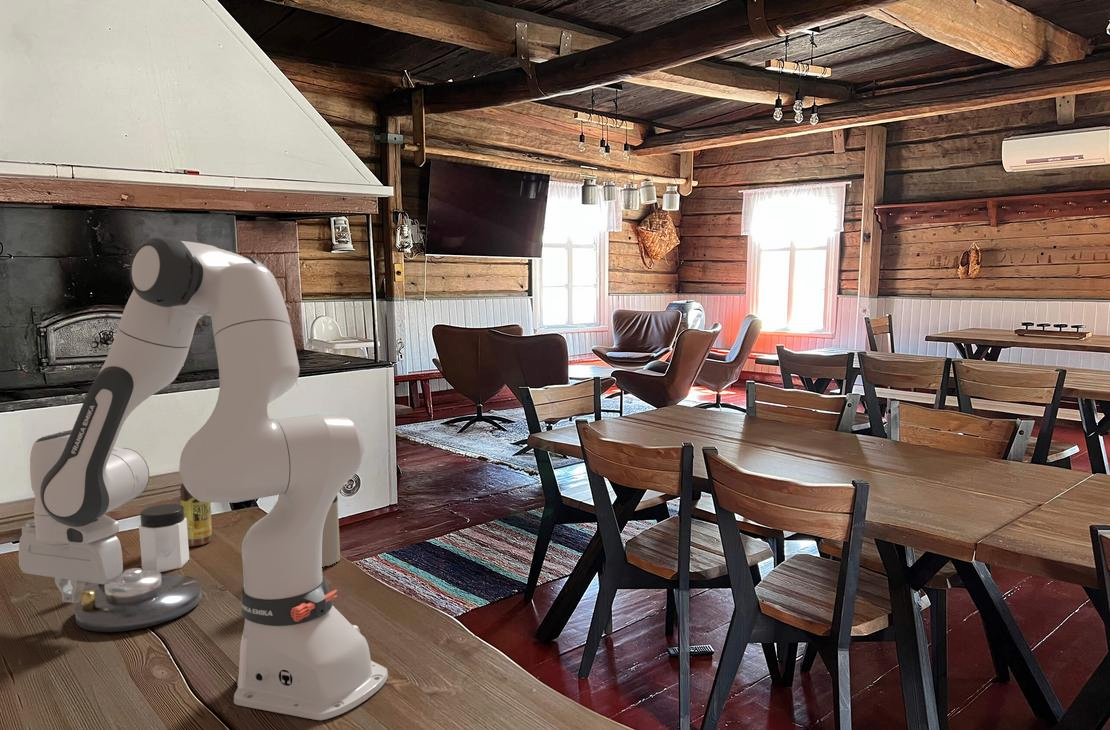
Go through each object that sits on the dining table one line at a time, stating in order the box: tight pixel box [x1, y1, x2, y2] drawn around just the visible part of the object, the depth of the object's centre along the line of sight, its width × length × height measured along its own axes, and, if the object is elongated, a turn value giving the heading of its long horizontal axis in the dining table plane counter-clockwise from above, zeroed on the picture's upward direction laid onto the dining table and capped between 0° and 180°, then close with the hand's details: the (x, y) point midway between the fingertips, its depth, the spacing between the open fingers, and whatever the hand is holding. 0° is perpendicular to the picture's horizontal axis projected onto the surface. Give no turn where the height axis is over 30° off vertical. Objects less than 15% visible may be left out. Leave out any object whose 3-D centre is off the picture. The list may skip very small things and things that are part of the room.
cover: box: [104, 567, 162, 605], centre depth 138 cm, size 9×9×4 cm
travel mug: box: [322, 495, 341, 568], centre depth 159 cm, size 8×8×18 cm
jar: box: [138, 503, 190, 573], centre depth 159 cm, size 9×8×12 cm
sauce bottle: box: [179, 482, 213, 547], centre depth 172 cm, size 6×6×20 cm
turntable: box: [74, 573, 202, 633], centre depth 138 cm, size 20×20×5 cm
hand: (73, 601), depth 132 cm, fingers closed
